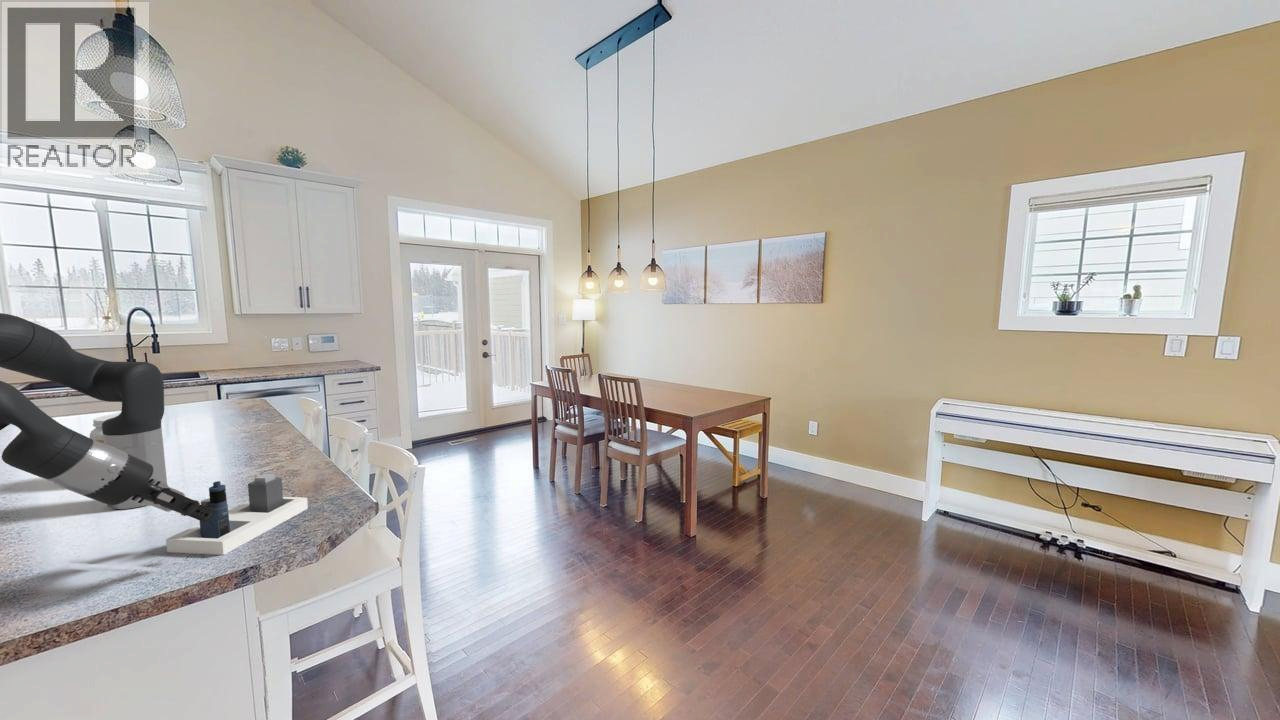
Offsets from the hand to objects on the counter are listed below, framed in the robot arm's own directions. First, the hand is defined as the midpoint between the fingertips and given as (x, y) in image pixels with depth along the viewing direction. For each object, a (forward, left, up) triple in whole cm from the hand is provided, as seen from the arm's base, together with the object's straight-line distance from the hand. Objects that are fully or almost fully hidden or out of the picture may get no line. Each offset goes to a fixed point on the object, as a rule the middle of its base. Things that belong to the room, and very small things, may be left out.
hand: (197, 512), depth 86 cm
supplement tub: (-57, +34, -8) cm, 67 cm away
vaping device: (0, +3, -7) cm, 8 cm away
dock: (+1, +8, -8) cm, 12 cm away
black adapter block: (+1, +14, -7) cm, 16 cm away
